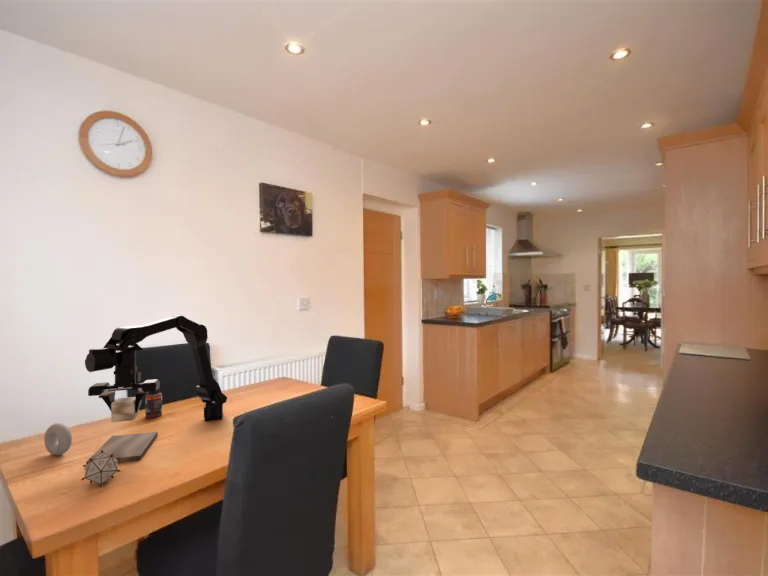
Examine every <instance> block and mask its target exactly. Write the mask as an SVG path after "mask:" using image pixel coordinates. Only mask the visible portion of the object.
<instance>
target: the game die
mask: <svg viewBox="0 0 768 576" xmlns="http://www.w3.org/2000/svg"><path fill="white" fill-rule="evenodd" d="M113 455H114V454H111V455H108V454H105V453H103V450H102V451H101V454H99V455H98V456H96V457H95V458H93V459H91V457H89V458H88V460H90V462H89V463H88V464H87V465H86V464H83V465H82V467H83V468H85V471H84V477H82V478H81V479H80V480H81V481H84V480H88V481H89V484H91V483H93V482H94V483H97V484H99V487H100V488H102V487H103V484H105V482H107V481H108V480H109V479H111V478H112V479H114V477H115V476H114V475H115V474H116V473H117V472H121V470H120V469H118V466H119V465H118V464H119V463H118V460H119V459H120V458H121V457H119V458H118V459H117V458H115V457H113Z"/></svg>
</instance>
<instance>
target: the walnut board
mask: <svg viewBox="0 0 768 576" xmlns="http://www.w3.org/2000/svg"><path fill="white" fill-rule="evenodd" d="M158 435H159V432H158V431H150V432H149V431H148V432H140V433H139V432H138V433H129V434H120V435H112V436H111V437H109V438H108V439H107V440H106V441H105V443H103V445H101V446H100V448H98V449H97V450H96V451H95V452H94V454H93V455H91V456H90V458H91V459H93V458H95V457H96V456H98V455H99V454H101V451H102V450H103V453H105V454H108V455H111V454H114V455H113V457H115V458H117V459H118V458H119V457H121V458H120V459H119V460H118V464H119V463H121V464H122V463H128V462H135V461H136V462H138V461H141V460H142V459H143V458H144V456H145V455H146V453H147V451H148V450H150V447H152V444H153V443H154V442H155V440H156V439H157V438H158ZM89 462H90V460H89V459H87V460H86V462H85V465H87V464H88V463H89Z"/></svg>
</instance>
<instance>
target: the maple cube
mask: <svg viewBox="0 0 768 576" xmlns="http://www.w3.org/2000/svg"><path fill="white" fill-rule="evenodd" d="M135 399H136V396H129V397H118V398H117V399H116V398H115V401H114V402H113V403H111V411H110V413H111V414H110V417H111V420H110V421H111V423H118V422H120V423H121V422H130V421H134V420H135V419H136V418H137V417H138V416H139V415H140V409H139V410H138V412H137V413H136V412H135Z"/></svg>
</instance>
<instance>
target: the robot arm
mask: <svg viewBox="0 0 768 576" xmlns="http://www.w3.org/2000/svg"><path fill="white" fill-rule="evenodd" d="M172 329H176V330H177V331H178V332H180V333H182V335H183V337H184V339H185V341H186V342H187V344H188V345H189V346H190V348H191V349H192V354H193V358H194V359H193V360H194V363H195V367H196V370H197V374H198V378H199V383H198V385H196V386H195V390H196V396H197V397H199V399H200V400H201V402H202V403H203V404H204V403H205V404H204V405H205V406H204V407H203V419H204V421H205V422H207V421H217V420H218V421H219V420H223V418H224V415H225V414H224V404H225V403H227V401H228V396H227V395H225V393H223V392H222V389H221V387H220V384H219V382H217V380H216V379H215V378H214V375H213V371H212V370H213V369H212V367H211V363H210V358H209V354H208V350H207V347H206V344H207V341H208V339H209V338H208V329H207V327H206V325H204V324H201V323H200V324H199V323H197V322H195V321H193V320H191V319H189V318H187V317H186V316H184V315H182V314H181V315H179V314H176V315H174V314H173V315H172V316H169V317H166V318H163V319H158V320H155V321H152V322H147V323H144V324H141V325H128V326H121V327H120V326H119V327H117V328H115V329H113V331H112V332H111V337H110V338H109V339H108V341H107V342H106V343H105V344H104V346H103V348H90V349H88V353H87V354H86V357H85V360H84V366H85V369H86V370H87V372H89V373H93V372H97V371H98V372H99V371H104V370H105V371H106V370H110V369H113V368H114V371H113V375H114V383H113V384H110V382H96V383H94V384H93V385H91V386H89V388H88V391H87V394H88V395H87V396H88V397H92V396H93V397H94V396H95V397H96V396H97V397H98V398H99V399H102V400H103V401H104V403H105V404H106V406H107V407H108V409H109V410H110V412H111V403H113V402H114V401H115V400H116V398H115V397H116V391H117V392H119V391H132V390H133V391H134V390H137V392H136V393H135V397H136V399H135V412H136V413H137V412H138V410H139V411H140V407H141V405H142V403H143V399H144V397H145V396H146V395H147V394H148V392H153V391H156V390H157V389H158V388H159V389H160V387H161V381H160V380H159V379H156V378H154V379H146V380H145V381H143V382H141V379H142V378H141V377H142V372H140V371H138V367H137V352H140V351H144V347H142V346H140V345H139V344H138V343H140V342H143V341H144V340H145V339H147V338H149V337H150V336H154V335H156V334H159V333H163V332H165V331H170V330H172Z"/></svg>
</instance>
